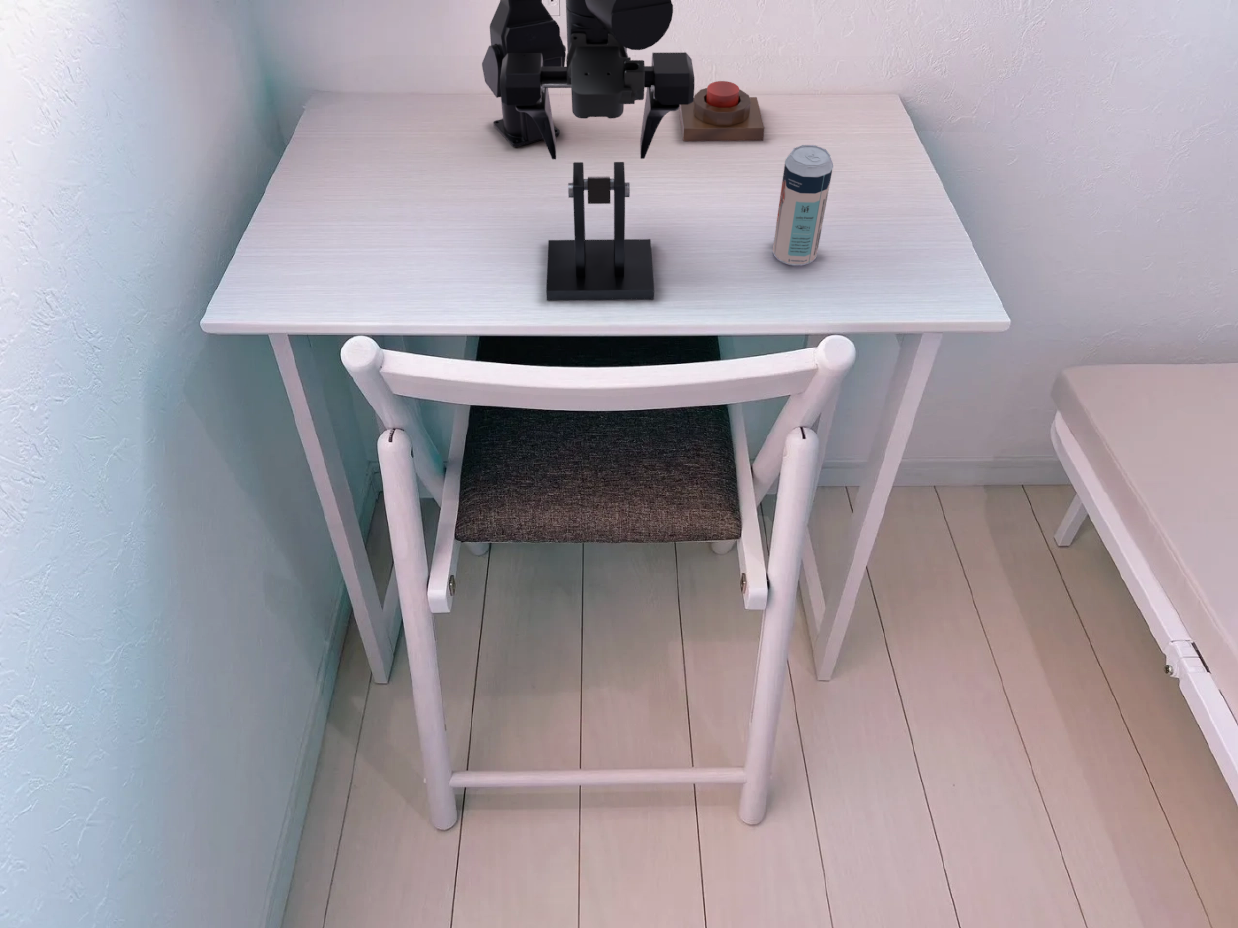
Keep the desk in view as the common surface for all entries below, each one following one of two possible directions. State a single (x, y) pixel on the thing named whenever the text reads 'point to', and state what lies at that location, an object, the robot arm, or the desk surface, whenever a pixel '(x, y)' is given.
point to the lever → (598, 189)
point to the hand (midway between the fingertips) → (598, 157)
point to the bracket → (599, 254)
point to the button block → (721, 120)
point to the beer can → (802, 204)
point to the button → (722, 94)
